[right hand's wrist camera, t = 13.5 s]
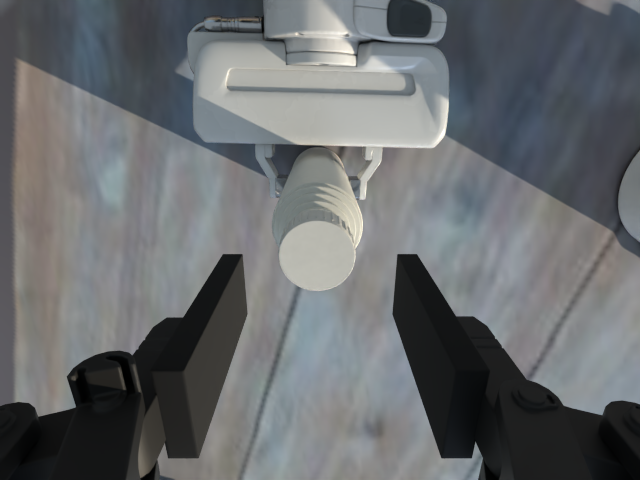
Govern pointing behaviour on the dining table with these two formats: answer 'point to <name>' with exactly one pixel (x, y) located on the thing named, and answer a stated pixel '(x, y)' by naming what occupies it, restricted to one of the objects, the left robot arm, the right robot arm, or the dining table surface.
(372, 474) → the dining table surface
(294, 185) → the bottle
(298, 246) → the cap
